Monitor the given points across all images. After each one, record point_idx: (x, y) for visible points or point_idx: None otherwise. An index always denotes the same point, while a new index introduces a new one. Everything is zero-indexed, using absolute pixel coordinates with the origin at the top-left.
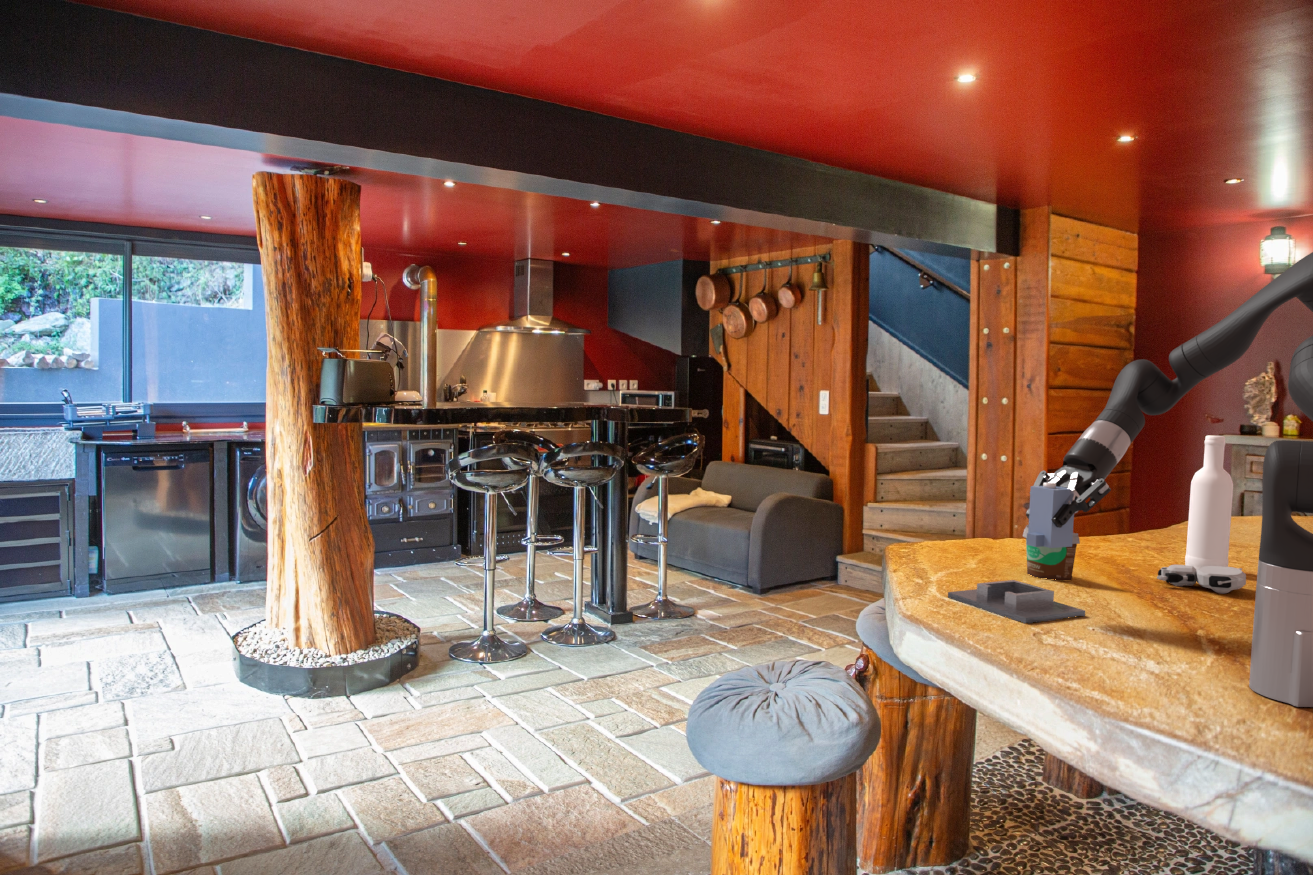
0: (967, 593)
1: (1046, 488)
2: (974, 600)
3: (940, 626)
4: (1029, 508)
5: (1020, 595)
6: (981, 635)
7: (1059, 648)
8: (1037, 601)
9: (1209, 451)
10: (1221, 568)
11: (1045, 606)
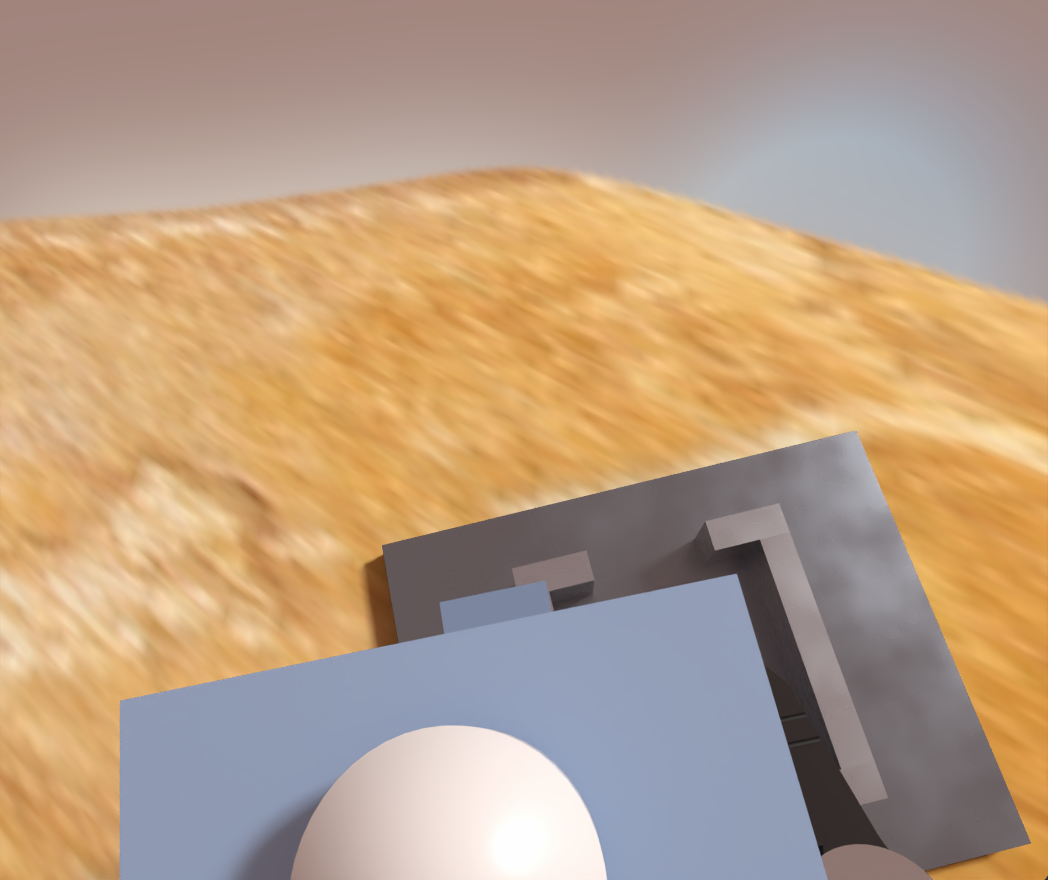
0: (833, 514)
1: (358, 700)
2: (694, 476)
3: (413, 212)
4: (801, 722)
5: None
6: (287, 295)
7: (81, 482)
8: None
9: None
10: None
11: None
